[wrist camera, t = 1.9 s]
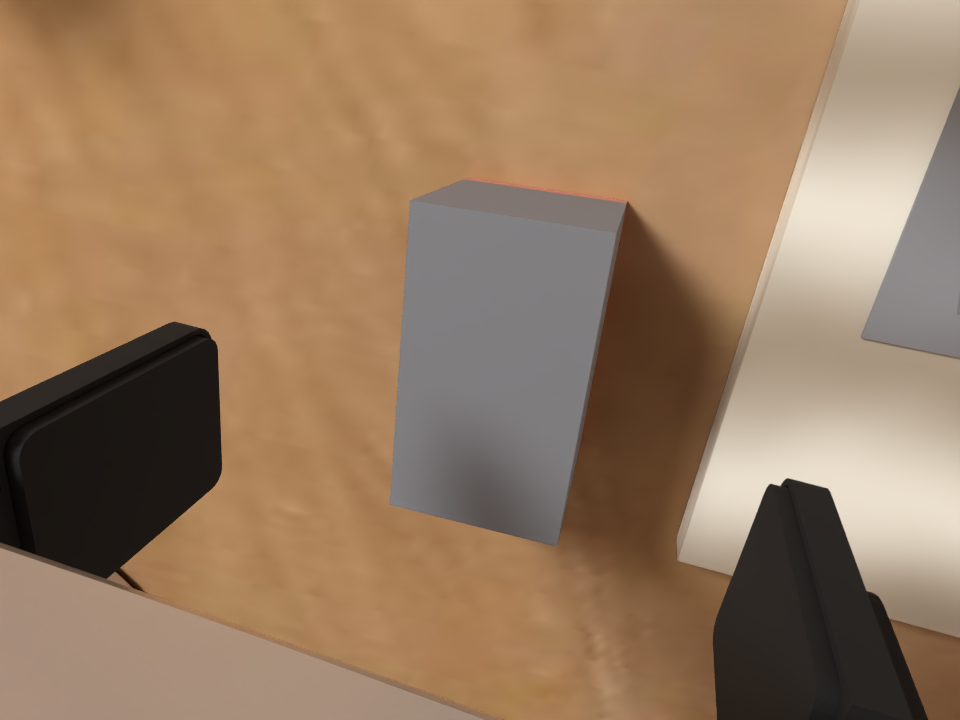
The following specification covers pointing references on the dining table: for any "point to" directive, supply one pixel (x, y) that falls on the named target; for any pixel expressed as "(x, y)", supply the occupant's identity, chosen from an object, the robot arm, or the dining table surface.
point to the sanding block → (499, 351)
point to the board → (859, 324)
